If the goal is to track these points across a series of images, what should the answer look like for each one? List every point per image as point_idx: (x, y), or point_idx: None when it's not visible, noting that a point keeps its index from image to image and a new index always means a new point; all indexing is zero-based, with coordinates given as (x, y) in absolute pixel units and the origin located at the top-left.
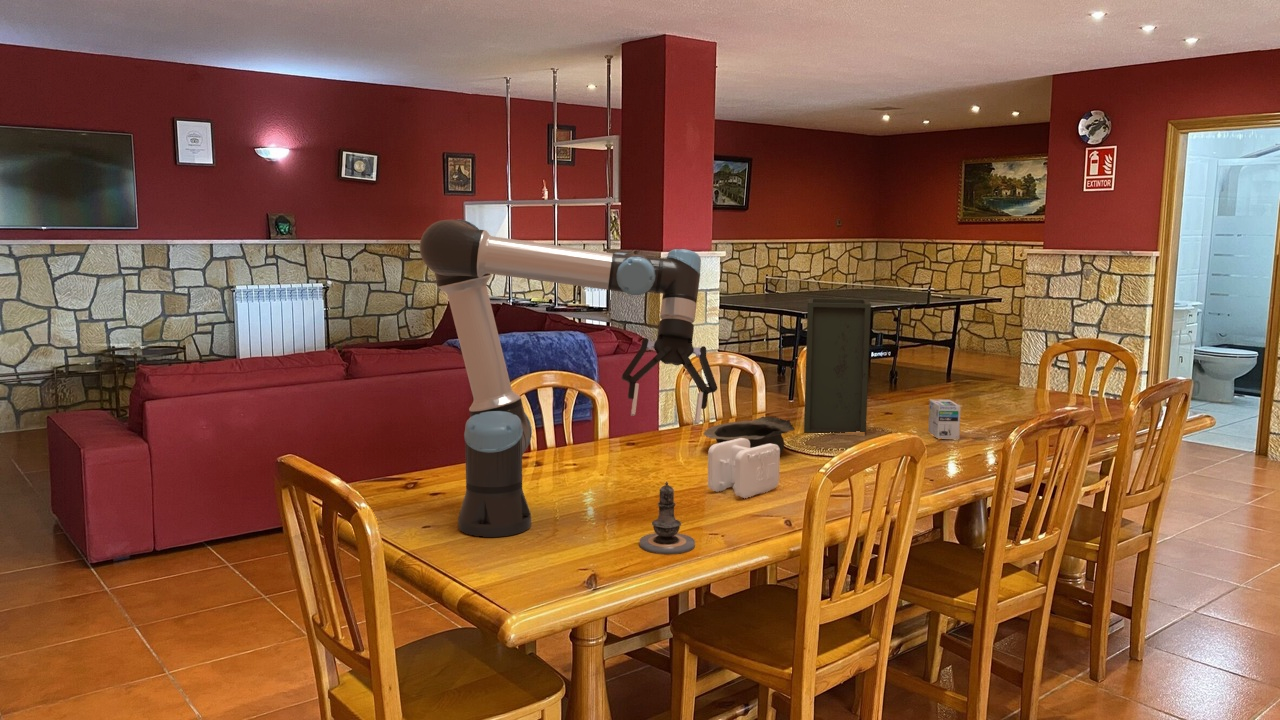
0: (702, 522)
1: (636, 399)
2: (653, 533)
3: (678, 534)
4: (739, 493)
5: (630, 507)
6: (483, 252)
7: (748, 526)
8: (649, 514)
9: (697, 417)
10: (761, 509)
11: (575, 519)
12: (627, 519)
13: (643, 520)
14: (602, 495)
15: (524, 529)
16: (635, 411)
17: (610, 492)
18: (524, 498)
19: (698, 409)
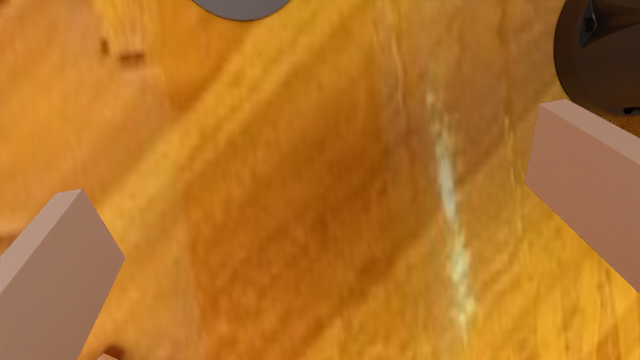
0: (178, 150)
1: (634, 156)
2: (281, 5)
3: (216, 4)
4: (105, 355)
5: (365, 231)
6: None
7: (47, 139)
8: (316, 188)
9: (57, 213)
10: None
11: (470, 119)
12: (360, 140)
13: (323, 139)
14: (435, 302)
15: (566, 6)
16: (552, 111)
17: (421, 327)
18: (626, 34)
19: (16, 260)
